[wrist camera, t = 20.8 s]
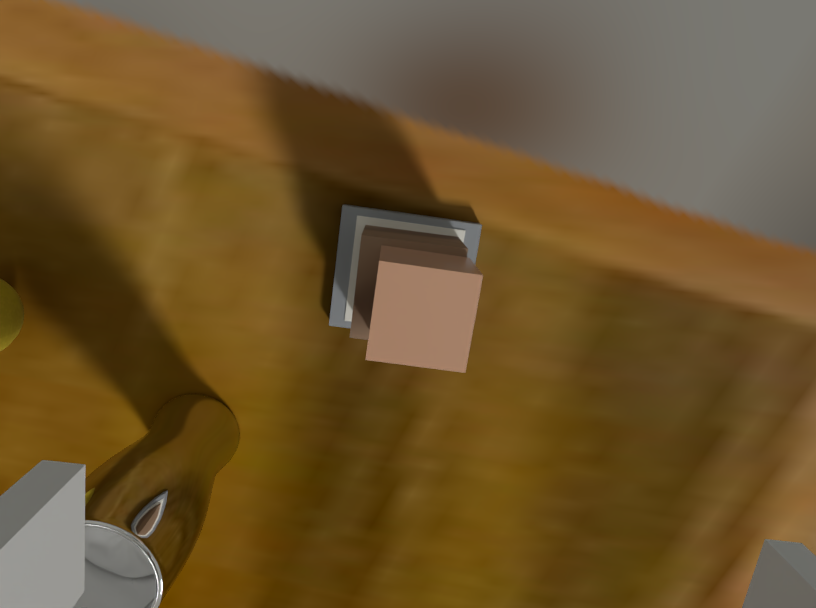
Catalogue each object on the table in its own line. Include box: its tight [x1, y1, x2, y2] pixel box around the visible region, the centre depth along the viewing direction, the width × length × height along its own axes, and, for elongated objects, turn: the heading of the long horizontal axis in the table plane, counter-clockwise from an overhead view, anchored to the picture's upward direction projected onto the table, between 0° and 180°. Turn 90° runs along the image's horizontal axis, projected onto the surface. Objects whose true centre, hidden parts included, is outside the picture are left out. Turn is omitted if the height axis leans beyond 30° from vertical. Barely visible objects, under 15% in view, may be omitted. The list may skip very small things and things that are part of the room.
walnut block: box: [350, 225, 468, 340], centre depth 35 cm, size 6×6×5 cm
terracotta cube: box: [366, 245, 483, 373], centre depth 30 cm, size 5×5×5 cm
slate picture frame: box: [329, 204, 482, 328], centre depth 38 cm, size 9×8×1 cm
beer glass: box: [73, 394, 240, 608], centre depth 34 cm, size 7×7×15 cm
